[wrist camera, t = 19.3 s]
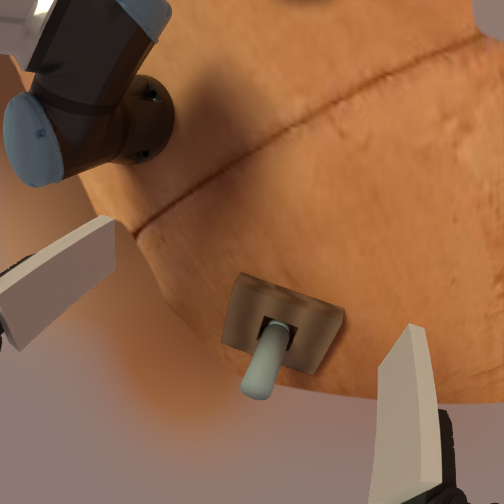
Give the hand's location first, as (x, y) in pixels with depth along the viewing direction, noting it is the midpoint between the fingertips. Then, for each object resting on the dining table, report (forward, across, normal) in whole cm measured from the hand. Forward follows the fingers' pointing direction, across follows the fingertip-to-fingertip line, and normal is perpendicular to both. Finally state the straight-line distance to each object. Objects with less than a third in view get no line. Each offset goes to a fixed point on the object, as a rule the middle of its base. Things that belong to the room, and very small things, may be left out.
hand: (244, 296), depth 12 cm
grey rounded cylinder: (+32, +2, -28) cm, 42 cm away
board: (+32, +2, -28) cm, 42 cm away
